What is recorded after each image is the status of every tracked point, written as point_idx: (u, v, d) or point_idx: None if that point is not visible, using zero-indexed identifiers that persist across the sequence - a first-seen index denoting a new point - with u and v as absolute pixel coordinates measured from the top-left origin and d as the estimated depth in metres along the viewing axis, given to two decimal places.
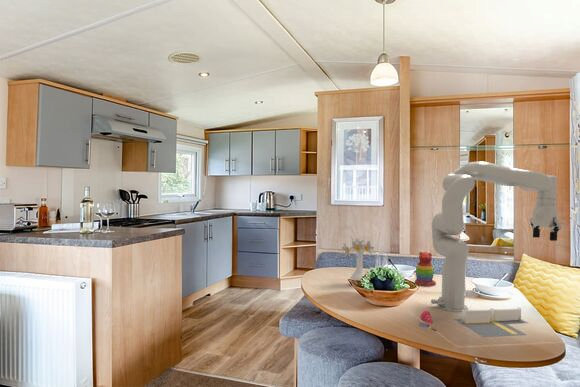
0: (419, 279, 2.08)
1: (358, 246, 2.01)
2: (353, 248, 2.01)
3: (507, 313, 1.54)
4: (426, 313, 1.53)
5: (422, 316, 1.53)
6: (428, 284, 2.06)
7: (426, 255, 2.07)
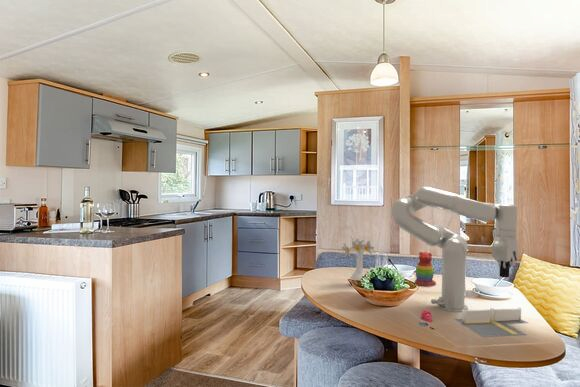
0: (419, 279, 2.08)
1: (358, 246, 2.01)
2: (353, 248, 2.01)
3: (507, 313, 1.54)
4: (426, 312, 1.54)
5: (422, 315, 1.54)
6: (428, 284, 2.06)
7: (426, 255, 2.07)
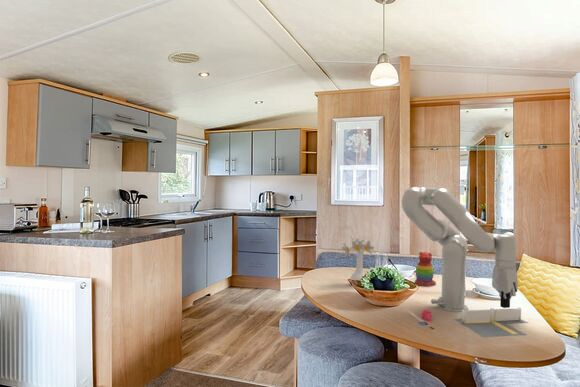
0: (419, 279, 2.08)
1: (358, 246, 2.01)
2: (353, 248, 2.01)
3: (507, 313, 1.54)
4: (426, 312, 1.55)
5: (422, 314, 1.55)
6: (428, 284, 2.06)
7: (426, 255, 2.07)
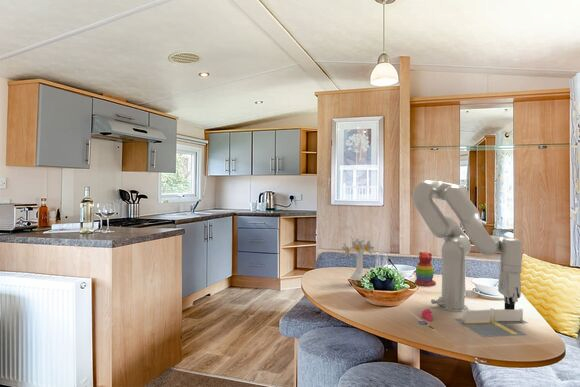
0: (419, 279, 2.08)
1: (358, 246, 2.01)
2: (353, 248, 2.01)
3: (508, 313, 1.53)
4: (427, 311, 1.55)
5: (423, 314, 1.56)
6: (428, 284, 2.06)
7: (426, 255, 2.07)
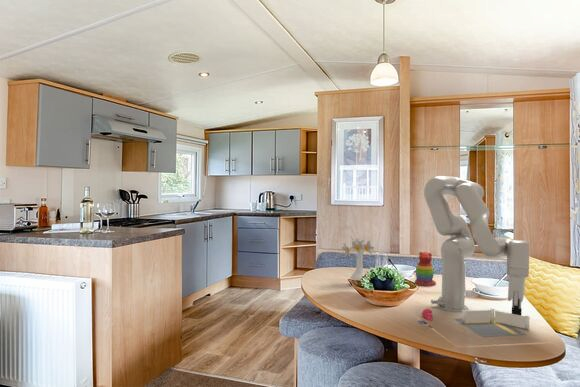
0: (419, 279, 2.08)
1: (358, 246, 2.01)
2: (353, 248, 2.01)
3: (510, 317, 1.49)
4: (427, 311, 1.56)
5: (423, 314, 1.56)
6: (428, 284, 2.06)
7: (426, 255, 2.07)
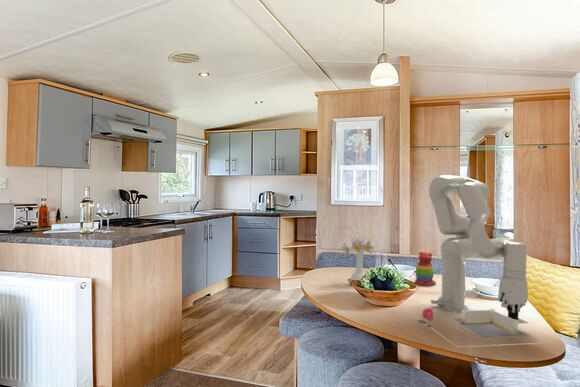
0: (419, 279, 2.08)
1: (358, 246, 2.01)
2: (353, 248, 2.01)
3: (503, 319, 1.47)
4: (428, 310, 1.57)
5: (423, 313, 1.57)
6: (428, 284, 2.06)
7: (426, 255, 2.07)
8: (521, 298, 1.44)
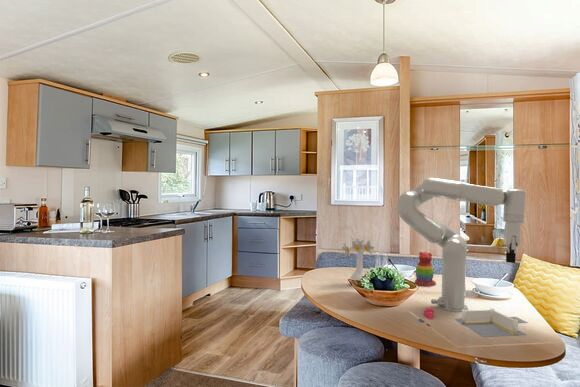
0: (419, 279, 2.08)
1: (358, 246, 2.01)
2: (353, 248, 2.01)
3: (503, 319, 1.47)
4: (428, 310, 1.57)
5: (424, 312, 1.58)
6: (428, 284, 2.06)
7: (426, 255, 2.07)
8: None
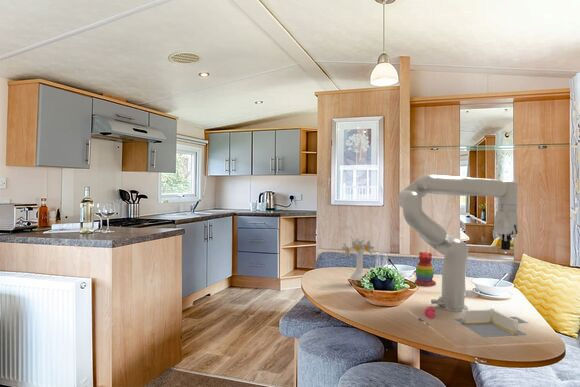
0: (419, 279, 2.08)
1: (358, 246, 2.01)
2: (353, 248, 2.01)
3: (503, 319, 1.47)
4: (429, 309, 1.58)
5: (425, 312, 1.59)
6: (428, 284, 2.06)
7: (426, 255, 2.07)
8: None
